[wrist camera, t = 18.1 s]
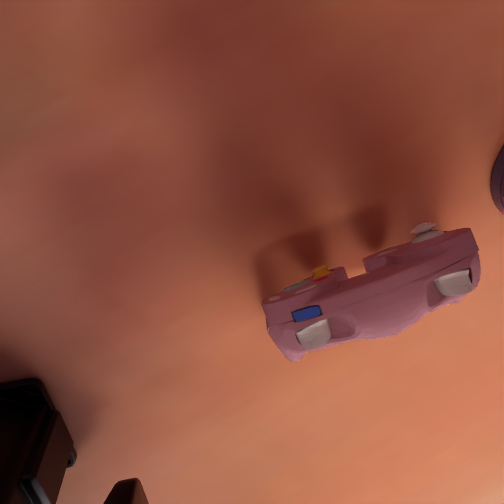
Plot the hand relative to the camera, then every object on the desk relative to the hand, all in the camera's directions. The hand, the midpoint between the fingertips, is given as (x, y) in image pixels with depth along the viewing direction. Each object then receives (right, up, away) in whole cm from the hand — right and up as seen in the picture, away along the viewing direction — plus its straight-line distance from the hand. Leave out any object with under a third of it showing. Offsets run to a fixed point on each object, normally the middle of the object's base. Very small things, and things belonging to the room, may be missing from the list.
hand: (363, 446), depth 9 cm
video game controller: (+3, +3, +14) cm, 14 cm away
